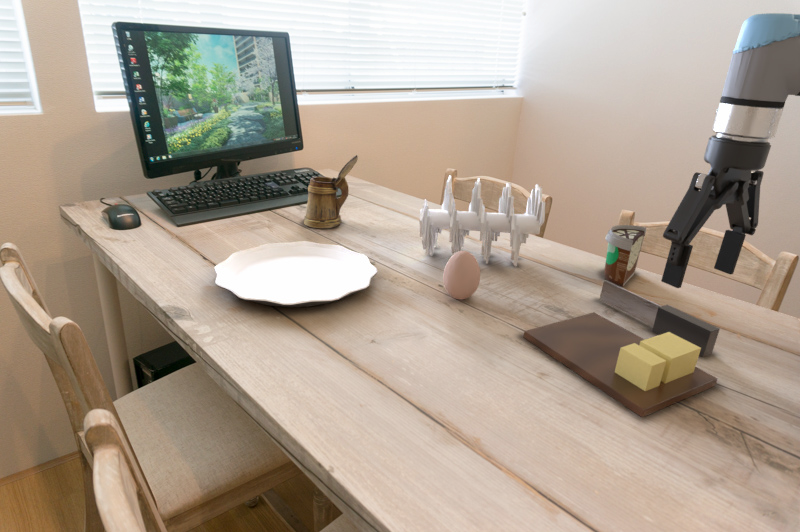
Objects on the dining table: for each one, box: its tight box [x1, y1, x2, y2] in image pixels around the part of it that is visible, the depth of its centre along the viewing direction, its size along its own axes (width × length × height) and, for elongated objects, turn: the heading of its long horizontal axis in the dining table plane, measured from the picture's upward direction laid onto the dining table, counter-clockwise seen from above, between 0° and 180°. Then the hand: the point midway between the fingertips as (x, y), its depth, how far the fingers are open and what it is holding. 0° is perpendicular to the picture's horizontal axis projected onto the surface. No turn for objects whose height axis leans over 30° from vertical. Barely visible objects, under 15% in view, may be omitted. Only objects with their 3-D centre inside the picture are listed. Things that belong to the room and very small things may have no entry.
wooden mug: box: [303, 154, 359, 229], centre depth 129 cm, size 9×14×18 cm, turn 73°
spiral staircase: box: [419, 175, 546, 267], centre depth 112 cm, size 18×18×25 cm
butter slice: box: [615, 343, 666, 391], centre depth 72 cm, size 5×3×4 cm, turn 30°
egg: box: [442, 250, 481, 300], centre depth 95 cm, size 7×7×9 cm
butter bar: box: [639, 332, 701, 383], centre depth 75 cm, size 5×6×4 cm
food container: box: [603, 224, 647, 287], centre depth 109 cm, size 12×6×10 cm, turn 144°
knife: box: [599, 279, 721, 358], centre depth 90 cm, size 21×2×4 cm, turn 30°
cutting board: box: [523, 311, 718, 418], centre depth 79 cm, size 22×16×1 cm
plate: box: [213, 240, 378, 308], centre depth 100 cm, size 29×29×2 cm
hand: (698, 277), depth 81 cm, fingers open, 13 cm apart
